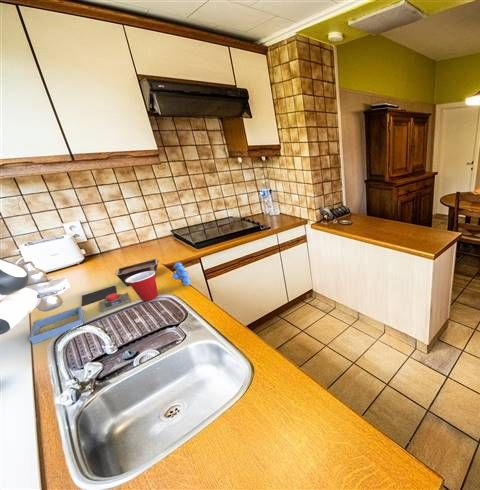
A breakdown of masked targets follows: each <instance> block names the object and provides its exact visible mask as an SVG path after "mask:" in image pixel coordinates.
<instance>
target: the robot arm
mask: <svg viewBox="0 0 480 490" xmlns="http://www.w3.org/2000/svg"><path fill="white" fill-rule="evenodd" d="M27 284H28V273H27V271H26V270H25V269H23V268H22V267H20V266H18V264H16V263H14V262H11V261H9V260H7V259H3V258H1V257H0V335H4V334H6V333H9V332H10V331H12V330H13V329H15V328H16V327H17V326H18V325H20V324H21V323H22V322H23V321H24V320H25V319H26V318H27V317H28V315H30V313H32V312H33V311H34V310H35V309H37V308H36V307H37V306H38V305H39V303H40V301H41V299H43V298H47V297H51V296H56V295H58V296H60V295H62V294H63V293H65V292H66V291H67V290H68V289H70V287H71V286H72V285H71V283H70V280H69V279H68V278H66V277H63V278H58V279H55V278H50V279H49V278H48V281H47V282H44V283H39V284H34V285H30V286H27Z"/></svg>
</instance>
